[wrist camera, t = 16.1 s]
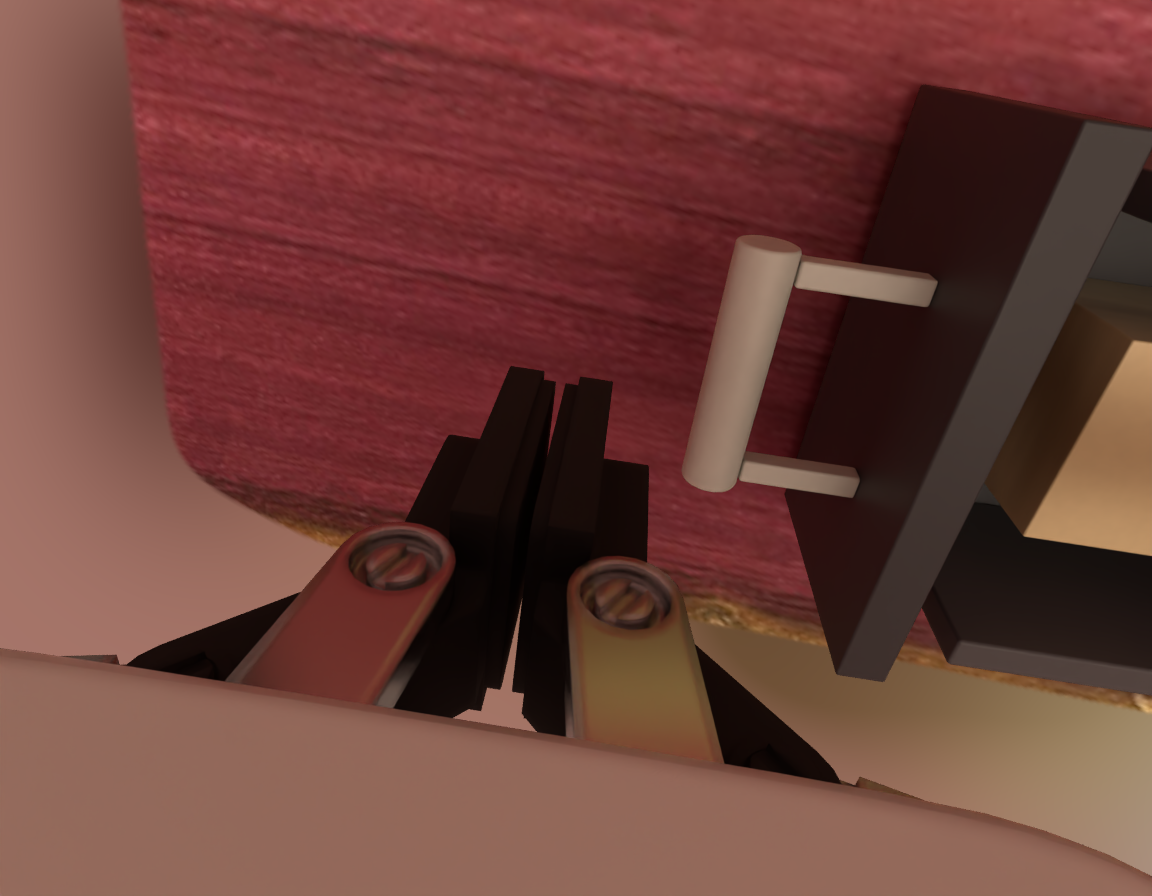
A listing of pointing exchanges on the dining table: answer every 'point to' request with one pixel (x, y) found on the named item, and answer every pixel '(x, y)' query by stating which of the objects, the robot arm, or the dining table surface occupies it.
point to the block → (1087, 429)
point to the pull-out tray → (945, 394)
